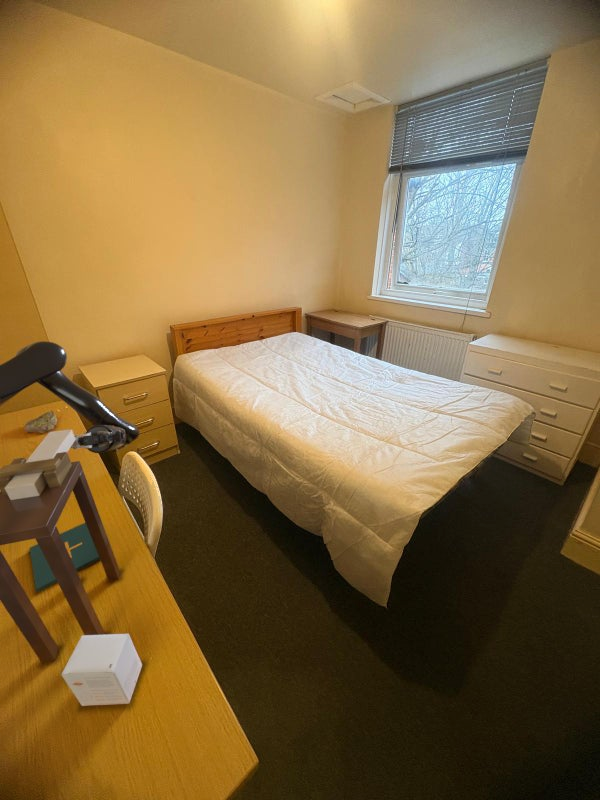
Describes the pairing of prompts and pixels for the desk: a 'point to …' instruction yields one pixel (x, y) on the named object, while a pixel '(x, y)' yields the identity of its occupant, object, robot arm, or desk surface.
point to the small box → (103, 669)
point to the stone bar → (46, 450)
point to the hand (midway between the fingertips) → (81, 441)
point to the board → (78, 549)
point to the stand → (50, 546)
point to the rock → (42, 423)
